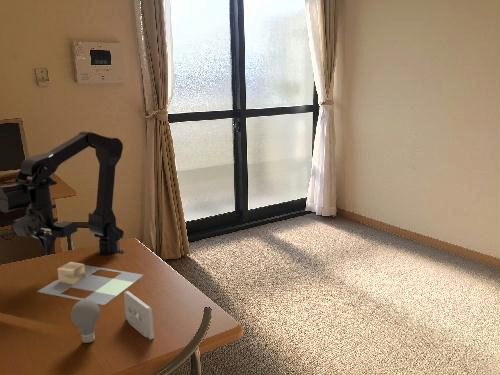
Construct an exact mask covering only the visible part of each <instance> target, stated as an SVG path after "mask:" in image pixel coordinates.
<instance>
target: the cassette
mask: <svg viewBox="0 0 500 375" xmlns="http://www.w3.org/2000/svg"><path fill="white" fill-rule="evenodd" d="M123 298H124V299H123V300H124V308H125V309H124V311H125V312H124V313H125V319H126V320H127V323H128V324H129V325H130V326H131V327H133V328H134V329H135V330H136V331H138V332H139V333H140V334H141V335H142V336H144V337H145V338H147V339H149V340H153V339H155V332H154V331H155V330H154V318H153V308H152V307H150V306H149V305H148V304H146V303H145V302H144V301H142V300H141V299H140V298H138V297H137V296H135V295H134V294H133V293H131V292H130V291H129V290H124V291H123Z"/></svg>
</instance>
